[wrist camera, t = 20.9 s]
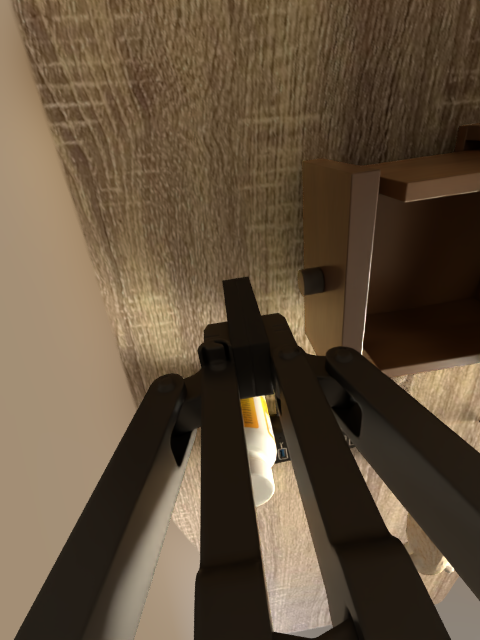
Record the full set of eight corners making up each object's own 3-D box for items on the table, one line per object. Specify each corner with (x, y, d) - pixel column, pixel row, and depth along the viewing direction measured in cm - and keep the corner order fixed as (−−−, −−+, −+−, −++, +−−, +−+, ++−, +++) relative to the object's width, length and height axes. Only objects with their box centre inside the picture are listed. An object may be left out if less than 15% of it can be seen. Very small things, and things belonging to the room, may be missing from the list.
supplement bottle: (273, 385, 29) (302, 485, 21) (236, 419, 31) (249, 524, 22) (228, 358, 27) (240, 457, 19) (191, 396, 29) (187, 502, 20)
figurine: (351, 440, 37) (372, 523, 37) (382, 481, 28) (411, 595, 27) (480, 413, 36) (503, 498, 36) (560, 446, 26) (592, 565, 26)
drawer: (290, 335, 25) (319, 401, 19) (282, 163, 19) (322, 177, 12) (467, 306, 26) (554, 362, 19) (519, 129, 19) (673, 126, 13)
